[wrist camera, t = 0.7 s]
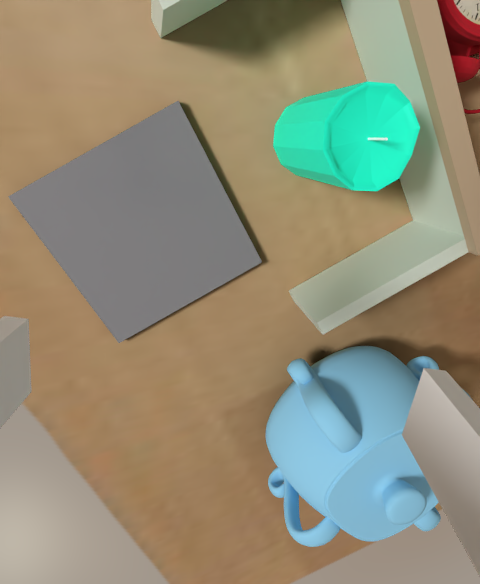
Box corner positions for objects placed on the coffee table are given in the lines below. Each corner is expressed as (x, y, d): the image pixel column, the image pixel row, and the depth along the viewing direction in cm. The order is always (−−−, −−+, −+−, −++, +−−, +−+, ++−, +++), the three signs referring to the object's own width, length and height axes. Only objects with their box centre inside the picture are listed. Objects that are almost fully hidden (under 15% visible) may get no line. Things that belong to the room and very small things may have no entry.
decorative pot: (280, 322, 39) (340, 410, 26) (426, 339, 43) (539, 423, 30) (244, 462, 44) (280, 592, 31) (378, 466, 48) (457, 583, 35)
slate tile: (11, 195, 30) (8, 196, 30) (177, 101, 30) (178, 100, 30) (119, 338, 36) (119, 343, 35) (259, 259, 36) (262, 262, 35)
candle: (303, 192, 35) (373, 217, 24) (257, 134, 32) (312, 134, 21) (357, 141, 34) (455, 143, 23) (315, 79, 32) (401, 48, 21)
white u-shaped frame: (151, 19, 28) (151, -21, 21) (334, -84, 28) (397, -161, 21) (293, 301, 38) (327, 340, 31) (430, 224, 38) (496, 244, 31)
